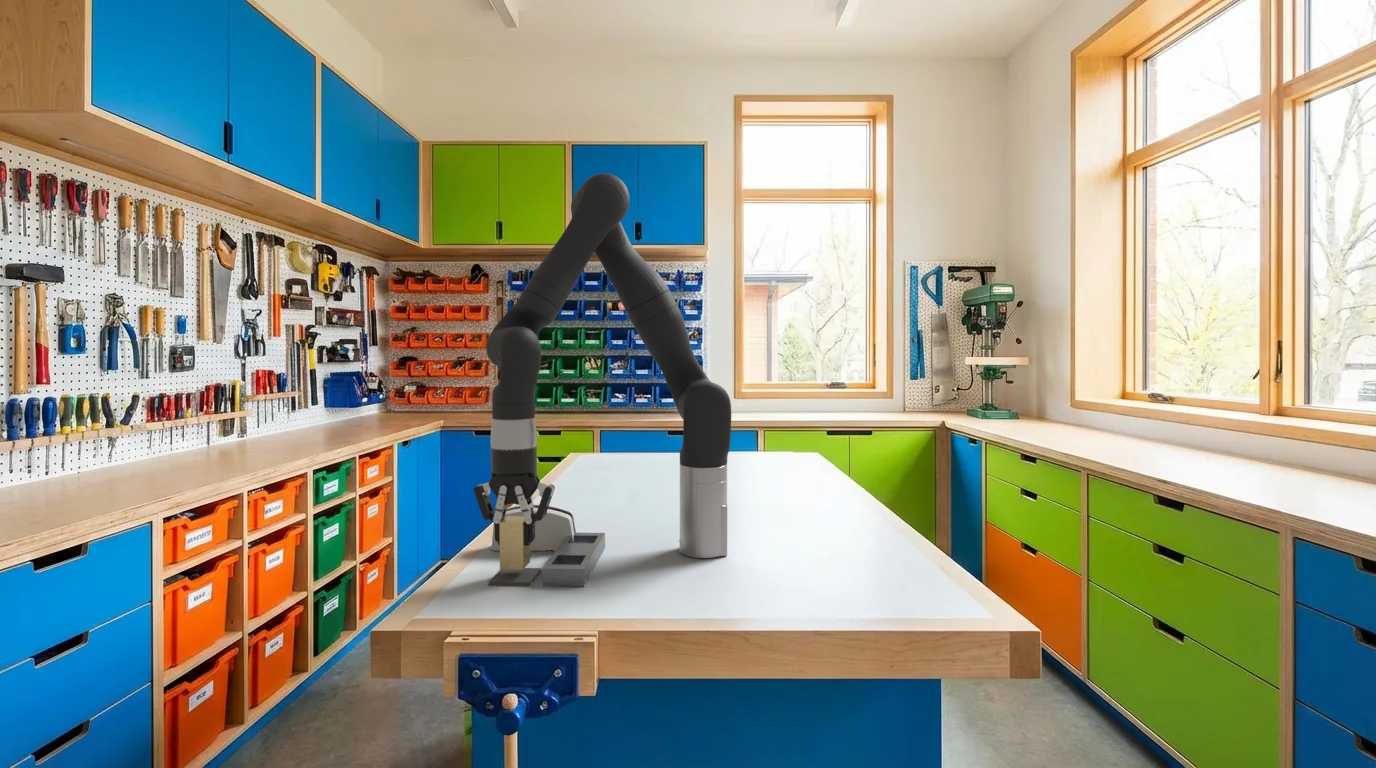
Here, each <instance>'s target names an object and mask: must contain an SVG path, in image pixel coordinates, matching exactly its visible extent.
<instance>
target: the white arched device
mask: <svg viewBox="0 0 1376 768" xmlns="http://www.w3.org/2000/svg"><path fill="white" fill-rule="evenodd" d="M533 504H534V506H533V508H534V511H535V513H536V512H537V510H538V507H539V504H540V503H533ZM507 516H523V512H522V511H521V509H520V505H517V504H516V505H514V506H508V508H507V510H506V514H505V518H506V517H507ZM575 523H576V522H575V517H574V513H573V511H572V510H570V509H567V508H564V507H561V506H557V505H553V504H552V505H551V504H549V507H548V510H547V513H546V515H545V517H544V518H542V519H541V520H540V521H536V522H535V539H534V540H533V541H532V542H531V544H530V552H532V551H533V552H537V551H538V552H541V551H543V552H547V551H546V550H548V552H550V551H549V550H553V551H552V552H555V551H556V550H557V549H558V547H559V546H560V545H561V543H562V542H563V541H564V540H565V538H566V537H567V536H572V543H574V535H575V534H574V533H577V530H576V524H575ZM492 528H493V529H492V541H491V548H490V549H491V550H490V551H499V552H500V545H498V542H496V540H495V524H494V523H493V527H492Z"/></svg>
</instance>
